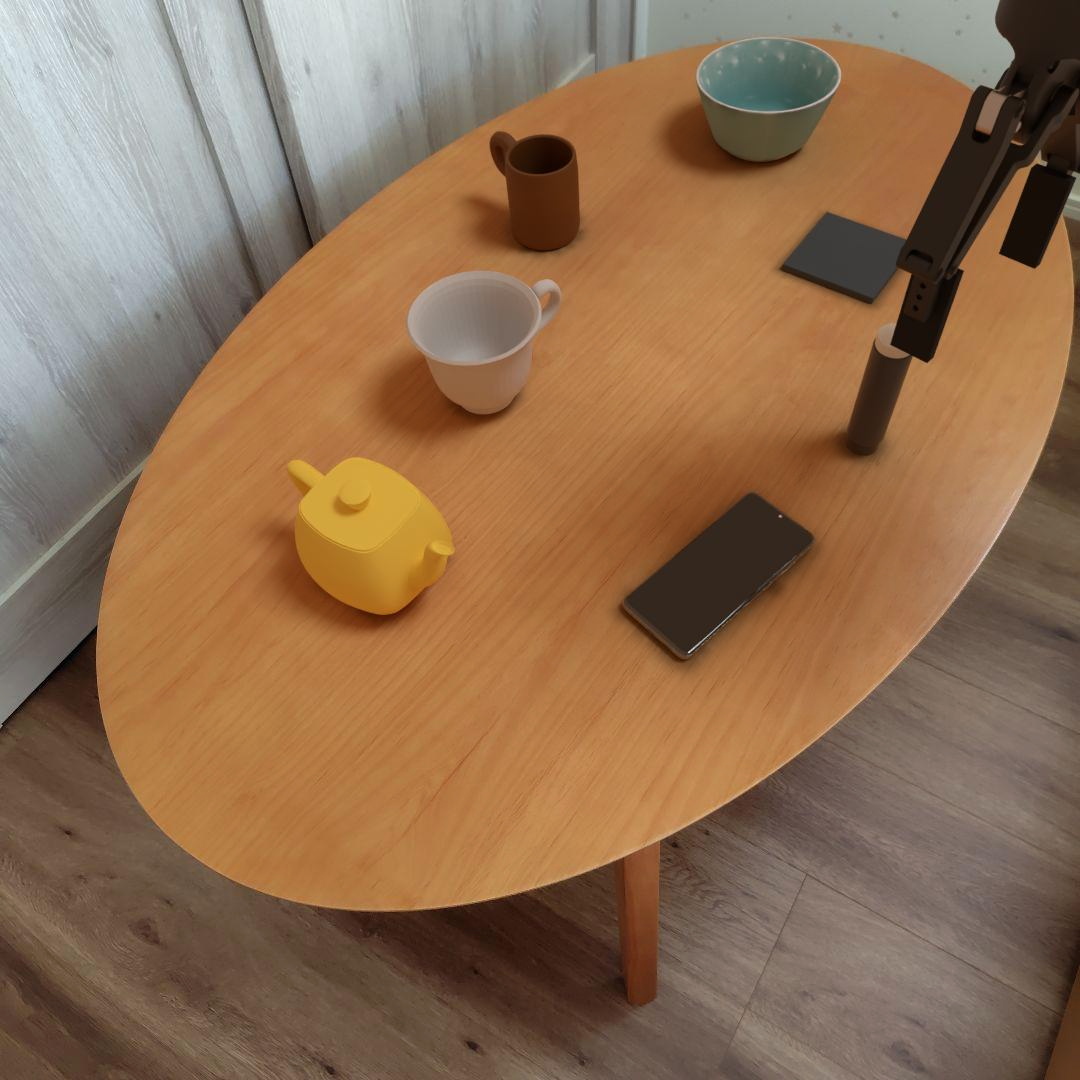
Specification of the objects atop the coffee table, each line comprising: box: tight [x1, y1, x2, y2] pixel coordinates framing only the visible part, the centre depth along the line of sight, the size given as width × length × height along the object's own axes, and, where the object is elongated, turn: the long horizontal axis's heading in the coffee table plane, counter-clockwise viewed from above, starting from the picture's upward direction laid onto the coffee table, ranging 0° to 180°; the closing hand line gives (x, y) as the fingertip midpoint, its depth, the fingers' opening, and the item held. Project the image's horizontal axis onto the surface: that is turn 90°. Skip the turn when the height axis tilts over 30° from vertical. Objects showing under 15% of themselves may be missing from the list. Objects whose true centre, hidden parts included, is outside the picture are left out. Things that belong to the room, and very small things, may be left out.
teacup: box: [405, 270, 563, 415], centre depth 87 cm, size 12×15×10 cm
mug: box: [489, 130, 581, 251], centre depth 101 cm, size 12×8×9 cm, turn 41°
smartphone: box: [622, 491, 816, 660], centre depth 77 cm, size 7×1×16 cm
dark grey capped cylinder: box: [845, 322, 913, 456], centre depth 79 cm, size 3×3×13 cm
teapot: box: [286, 456, 456, 616], centre depth 76 cm, size 18×11×11 cm, turn 53°
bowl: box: [695, 36, 842, 163], centre depth 108 cm, size 16×16×8 cm
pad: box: [781, 211, 907, 305], centre depth 98 cm, size 10×10×1 cm
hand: (967, 303), depth 63 cm, fingers open, 13 cm apart
